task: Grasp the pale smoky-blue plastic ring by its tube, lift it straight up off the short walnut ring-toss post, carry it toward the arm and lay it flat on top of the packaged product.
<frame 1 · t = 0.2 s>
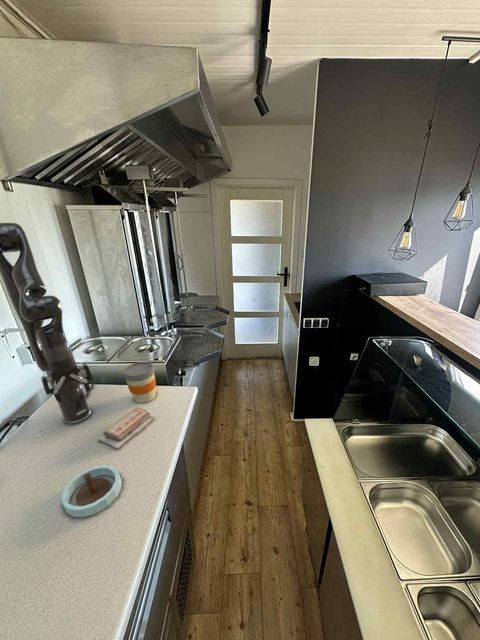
hand: (74, 395, 103), 17 cm above the countertop, tool pointing down, fingers open, 8 cm apart
reusable coffee cup: (145, 397, 131), on the countertop
ring stand: (94, 493, 86), on the countertop
packaged product: (128, 430, 111), on the countertop
ring: (94, 493, 86), on the countertop
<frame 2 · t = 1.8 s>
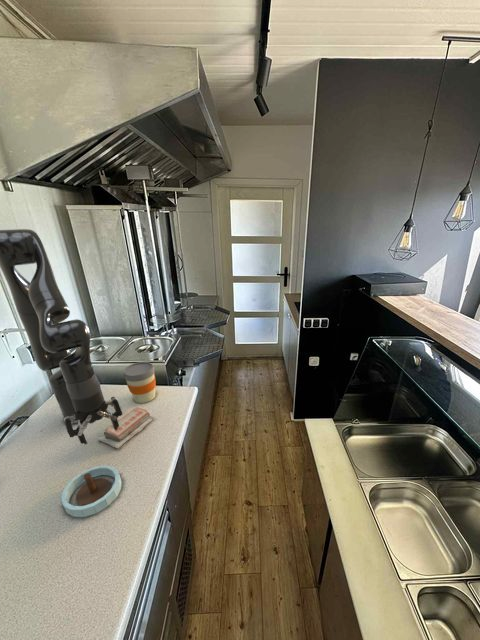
hand: (100, 435, 86), 16 cm above the countertop, tool pointing down, fingers open, 8 cm apart
nothing on the countertop moved.
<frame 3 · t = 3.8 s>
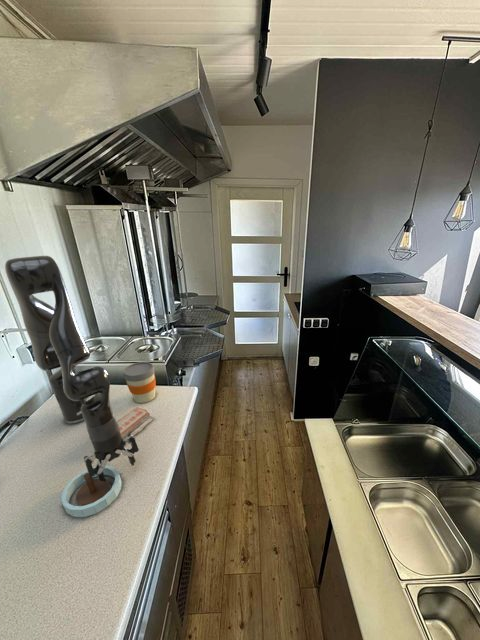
hand: (118, 471, 89), 3 cm above the countertop, tool pointing down, fingers open, 8 cm apart
nothing on the countertop moved.
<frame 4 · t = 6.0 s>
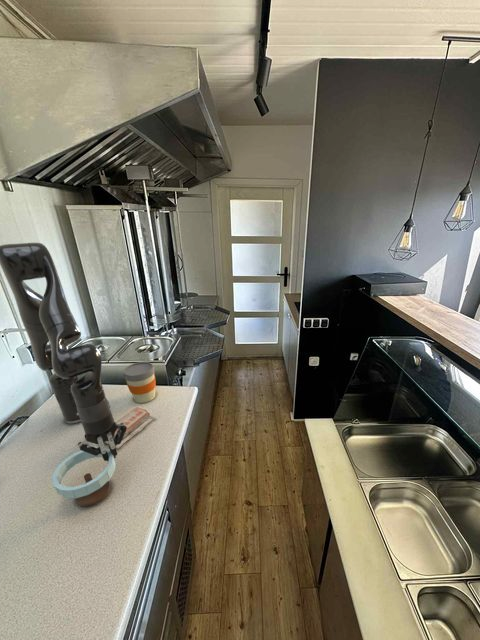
hand: (110, 458, 87), 9 cm above the countertop, tool pointing down, fingers closed on ring
ring: (86, 474, 83), point 8 cm above the countertop, touching gripper
everything else where it was.
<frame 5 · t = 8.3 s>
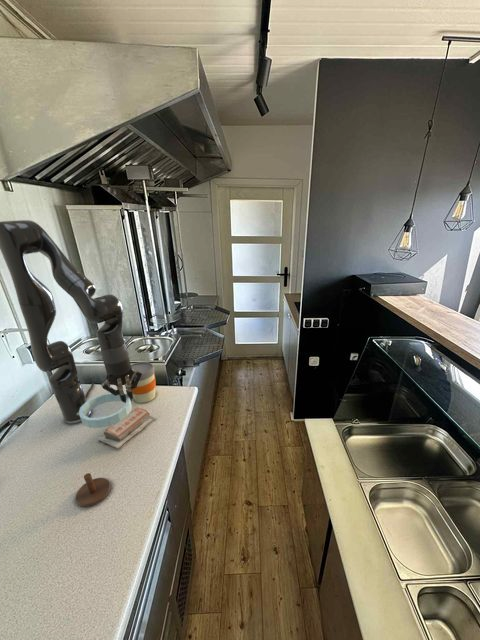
hand: (127, 400, 100), 17 cm above the countertop, tool pointing down, fingers closed on ring
ring: (107, 412, 97), point 15 cm above the countertop, touching gripper
everything else where it was.
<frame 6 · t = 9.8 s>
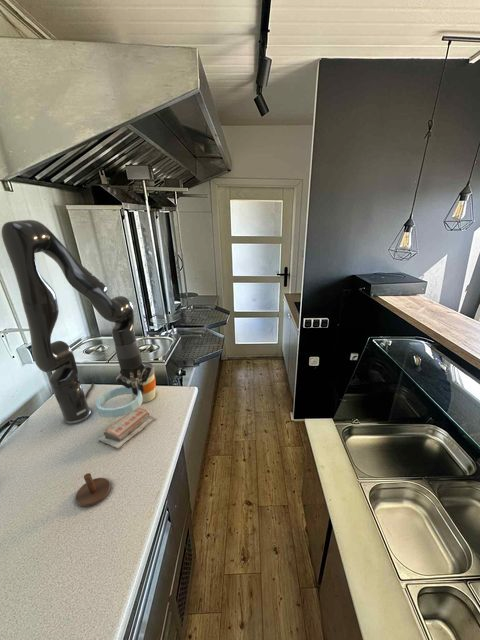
hand: (138, 393, 109), 14 cm above the countertop, tool pointing down, fingers closed on ring
ring: (120, 404, 106), point 12 cm above the countertop, touching gripper
everything else where it was.
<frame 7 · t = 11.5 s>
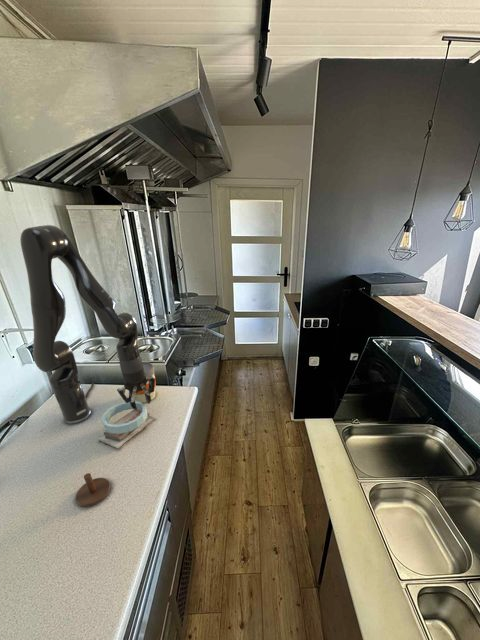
hand: (141, 405, 112), 8 cm above the countertop, tool pointing down, fingers open, 4 cm apart
packaged product: (128, 430, 111), on the countertop, touching ring
ring: (126, 419, 109), point 5 cm above the countertop, touching packaged product
everything else where it was.
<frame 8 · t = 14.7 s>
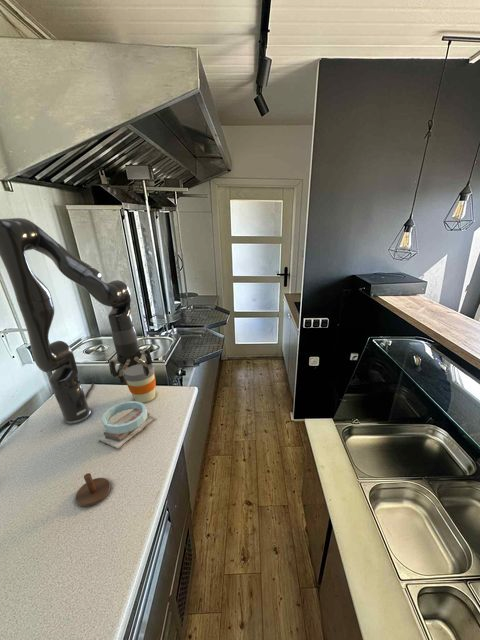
hand: (135, 379, 107), 20 cm above the countertop, tool pointing down, fingers open, 8 cm apart
nothing on the countertop moved.
at the end: ring 0.3 cm from the packaged product (horizontally); ring point 4.9 cm above the countertop; the gripper is holding nothing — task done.
